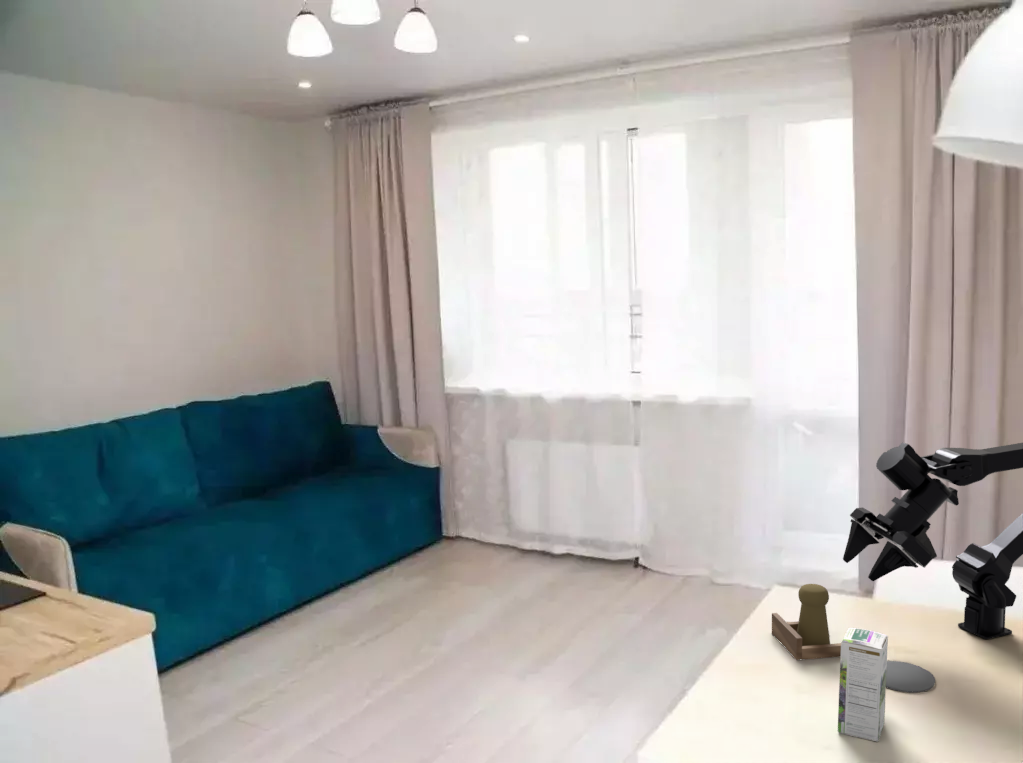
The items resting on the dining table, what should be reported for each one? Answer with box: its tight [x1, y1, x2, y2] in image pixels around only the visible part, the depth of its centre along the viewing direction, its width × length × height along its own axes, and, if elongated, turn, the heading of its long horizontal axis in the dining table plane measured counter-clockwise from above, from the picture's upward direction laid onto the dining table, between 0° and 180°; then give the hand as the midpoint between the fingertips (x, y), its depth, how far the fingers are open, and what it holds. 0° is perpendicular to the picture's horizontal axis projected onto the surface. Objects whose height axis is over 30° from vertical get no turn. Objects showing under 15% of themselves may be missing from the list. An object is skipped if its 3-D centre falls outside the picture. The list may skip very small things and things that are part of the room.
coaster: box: [886, 660, 936, 693], centre depth 143 cm, size 10×10×1 cm
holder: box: [771, 612, 841, 661], centre depth 156 cm, size 10×11×4 cm
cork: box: [797, 583, 831, 646], centre depth 156 cm, size 6×6×11 cm
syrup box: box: [837, 627, 889, 742], centre depth 127 cm, size 6×6×14 cm
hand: (857, 570), depth 155 cm, fingers open, 9 cm apart
